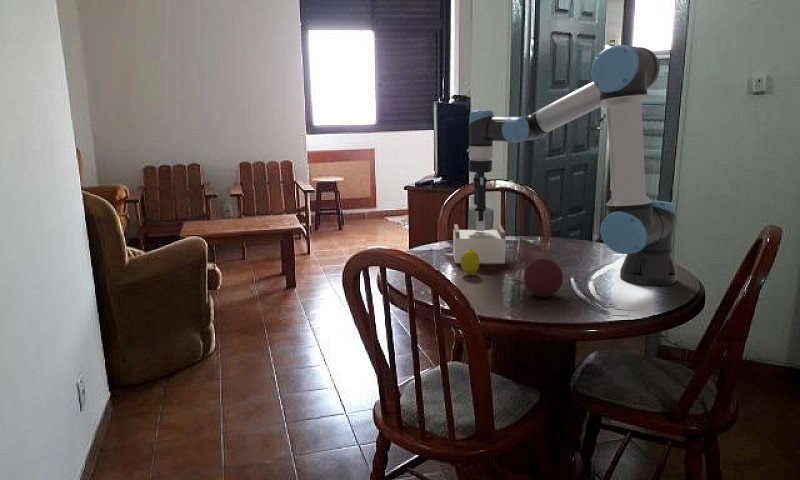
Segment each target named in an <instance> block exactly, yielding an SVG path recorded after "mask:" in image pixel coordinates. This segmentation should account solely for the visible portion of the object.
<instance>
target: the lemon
mask: <svg viewBox="0 0 800 480" xmlns="http://www.w3.org/2000/svg"><path fill="white" fill-rule="evenodd" d="M480 264H481V263H480V262H479V256H478V254H477V253H476V252H475V251H473V250H472V249H469V250H467V251H465V252H464V253H463V255H462V257H461V263H460V266H461V269H462V270H463V272H464V273H466V274H468V276H471V275H473V274H474V273H476V272H477V271H478V269H479V268H480Z"/></svg>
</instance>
